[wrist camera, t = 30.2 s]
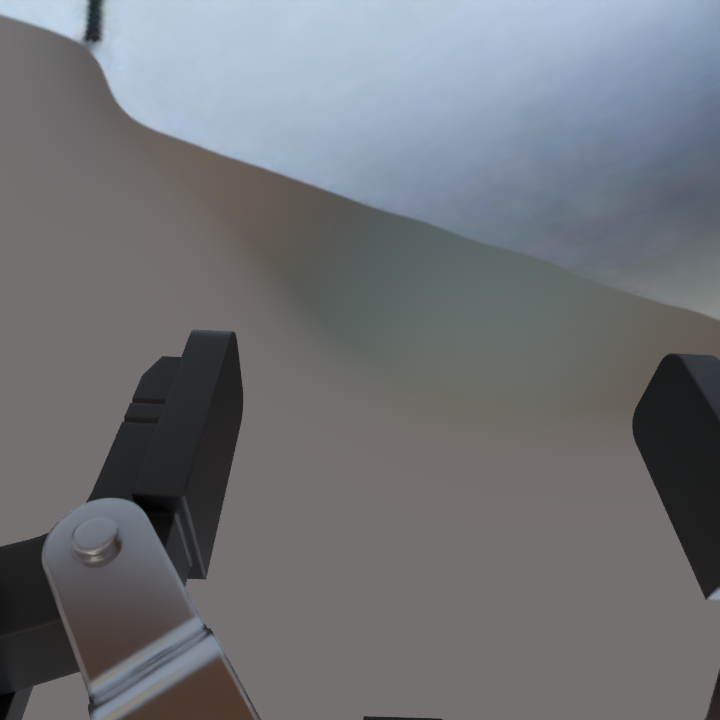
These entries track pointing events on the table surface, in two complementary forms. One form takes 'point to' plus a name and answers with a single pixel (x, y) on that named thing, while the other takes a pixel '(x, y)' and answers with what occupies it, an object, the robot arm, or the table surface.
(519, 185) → the table surface
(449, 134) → the table surface
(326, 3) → the table surface
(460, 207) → the table surface
